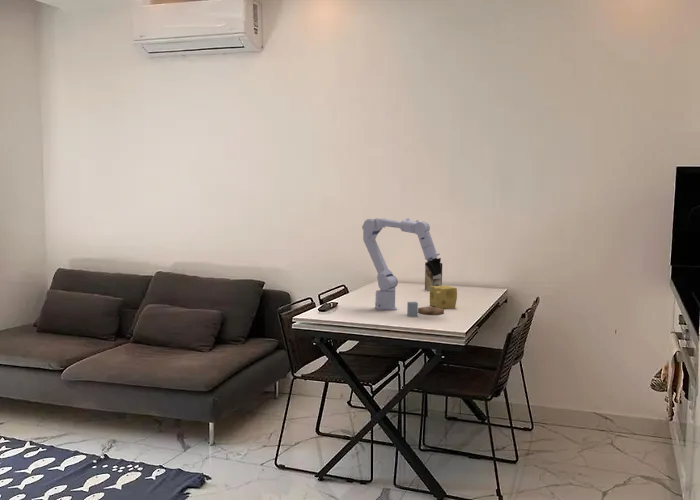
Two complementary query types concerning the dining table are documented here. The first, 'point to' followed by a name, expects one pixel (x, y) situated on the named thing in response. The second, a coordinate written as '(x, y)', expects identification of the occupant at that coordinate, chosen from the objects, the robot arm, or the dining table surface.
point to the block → (412, 309)
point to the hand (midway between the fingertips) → (437, 275)
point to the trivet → (430, 310)
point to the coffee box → (432, 278)
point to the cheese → (443, 296)
